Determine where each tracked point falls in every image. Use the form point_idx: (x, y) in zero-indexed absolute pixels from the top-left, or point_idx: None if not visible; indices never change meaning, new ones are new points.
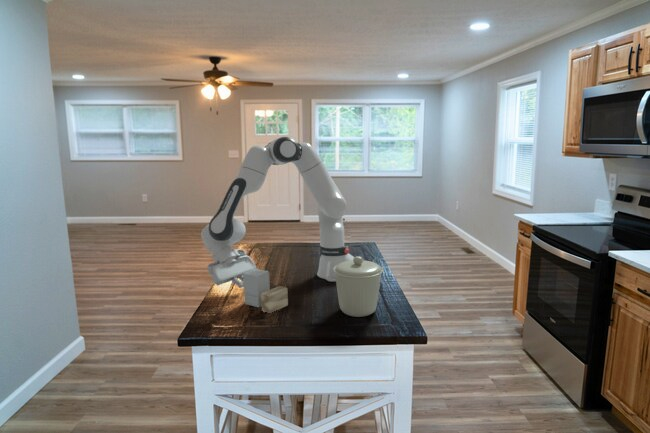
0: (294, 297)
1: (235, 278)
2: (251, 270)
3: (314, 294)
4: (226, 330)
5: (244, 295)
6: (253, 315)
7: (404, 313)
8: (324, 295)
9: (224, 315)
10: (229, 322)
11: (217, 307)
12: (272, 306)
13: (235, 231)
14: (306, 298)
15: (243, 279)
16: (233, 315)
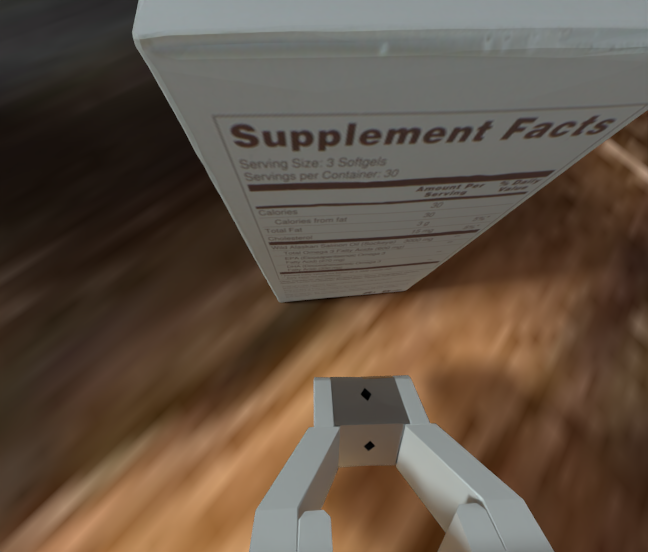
0: (144, 129)
1: (521, 537)
2: (394, 3)
3: (51, 77)
4: (643, 132)
5: (432, 270)
6: None
7: None
8: (46, 38)
9: (591, 261)
10: (601, 177)
11: (583, 409)
12: None
13: None
14: (127, 78)
15: (569, 166)
16: (548, 221)
